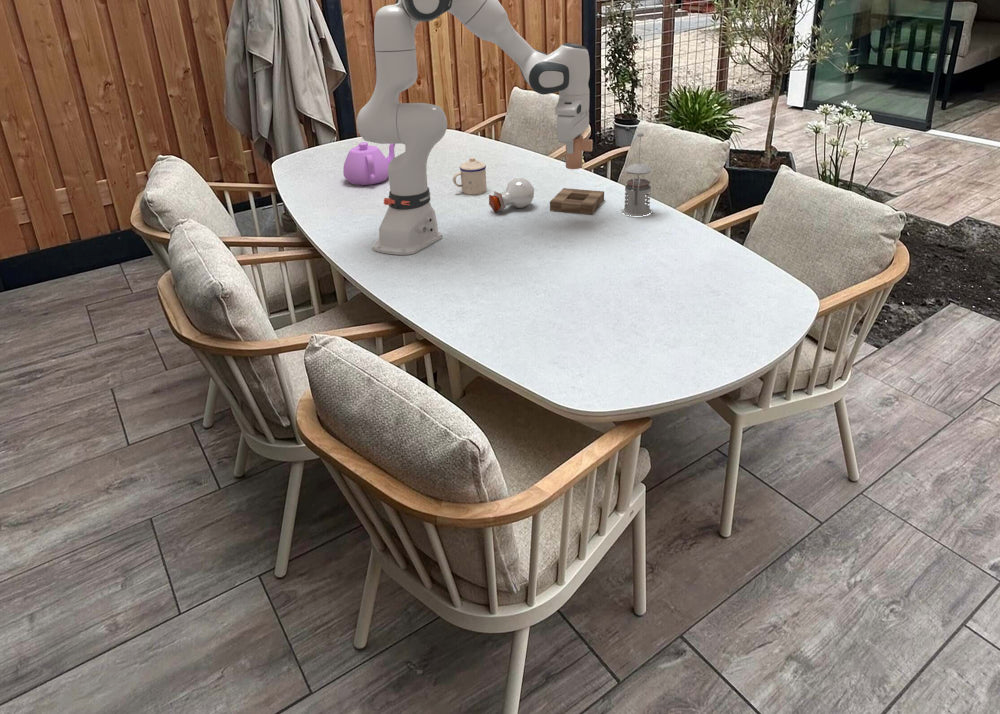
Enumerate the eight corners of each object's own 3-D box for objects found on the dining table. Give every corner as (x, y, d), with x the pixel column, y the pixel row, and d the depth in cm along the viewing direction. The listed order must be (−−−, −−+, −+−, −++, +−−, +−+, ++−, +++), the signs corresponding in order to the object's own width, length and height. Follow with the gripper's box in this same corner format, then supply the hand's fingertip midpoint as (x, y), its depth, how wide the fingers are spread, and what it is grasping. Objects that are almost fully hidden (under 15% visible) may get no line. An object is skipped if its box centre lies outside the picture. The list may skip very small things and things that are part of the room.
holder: (592, 214, 241) (592, 205, 239) (549, 210, 245) (549, 201, 244) (604, 200, 252) (604, 191, 250) (563, 196, 256) (563, 188, 255)
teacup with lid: (481, 185, 271) (479, 152, 265) (491, 192, 264) (489, 159, 258) (449, 191, 267) (447, 158, 261) (459, 198, 260) (456, 164, 254)
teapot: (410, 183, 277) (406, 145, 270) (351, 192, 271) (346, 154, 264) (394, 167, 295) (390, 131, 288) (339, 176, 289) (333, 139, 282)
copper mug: (562, 168, 231) (562, 138, 226) (568, 163, 235) (568, 134, 230) (588, 170, 228) (589, 140, 223) (593, 165, 232) (594, 135, 228)
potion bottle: (536, 208, 252) (498, 223, 247) (521, 186, 255) (483, 200, 249) (543, 190, 244) (504, 206, 239) (527, 168, 247) (488, 183, 241)
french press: (654, 207, 244) (658, 128, 231) (650, 220, 234) (654, 138, 221) (623, 206, 246) (626, 127, 233) (618, 218, 236) (620, 137, 224)
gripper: (574, 94, 232) (574, 140, 239) (552, 110, 215) (553, 158, 222) (594, 95, 229) (593, 141, 236) (574, 111, 213) (573, 160, 220)
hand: (573, 150), depth 229 cm, fingers closed on copper mug, 5 cm apart
